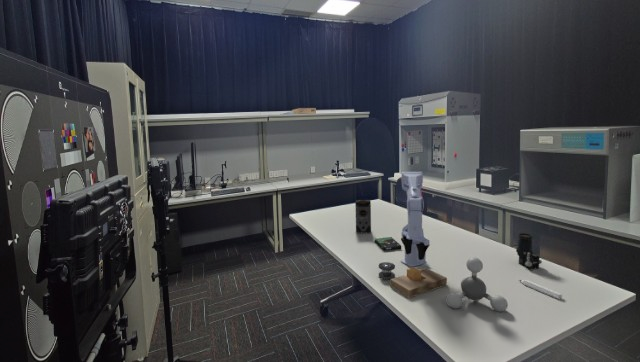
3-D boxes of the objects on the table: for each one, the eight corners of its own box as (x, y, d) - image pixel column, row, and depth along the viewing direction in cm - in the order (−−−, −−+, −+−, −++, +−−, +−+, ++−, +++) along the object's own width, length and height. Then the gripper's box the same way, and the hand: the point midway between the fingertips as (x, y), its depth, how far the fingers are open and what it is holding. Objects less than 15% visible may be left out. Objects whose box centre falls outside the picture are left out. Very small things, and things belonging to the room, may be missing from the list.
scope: (529, 240, 142) (510, 233, 151) (527, 270, 144) (509, 262, 153) (544, 238, 144) (525, 231, 153) (542, 267, 146) (523, 259, 155)
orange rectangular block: (413, 280, 139) (414, 266, 138) (420, 284, 135) (421, 270, 134) (406, 282, 137) (406, 269, 136) (413, 286, 134) (413, 272, 133)
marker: (518, 283, 135) (560, 301, 120) (515, 282, 134) (557, 299, 119) (520, 277, 135) (562, 294, 120) (517, 276, 134) (560, 292, 119)
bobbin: (388, 271, 148) (387, 261, 147) (398, 277, 142) (398, 266, 141) (375, 275, 145) (375, 264, 144) (385, 281, 139) (385, 270, 138)
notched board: (426, 274, 143) (426, 268, 143) (446, 284, 134) (446, 277, 133) (390, 286, 134) (390, 279, 134) (409, 297, 125) (409, 290, 124)
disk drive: (401, 250, 174) (391, 241, 189) (401, 245, 174) (391, 236, 188) (383, 252, 173) (374, 242, 187) (383, 247, 172) (374, 238, 187)
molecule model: (479, 308, 129) (450, 262, 134) (517, 297, 119) (485, 247, 124) (461, 332, 114) (430, 279, 119) (503, 322, 104) (467, 264, 109)
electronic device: (355, 233, 204) (355, 202, 201) (356, 230, 210) (355, 199, 207) (371, 233, 202) (370, 201, 199) (371, 230, 208) (370, 199, 205)
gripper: (396, 223, 143) (396, 253, 145) (420, 231, 130) (420, 264, 132) (408, 220, 146) (408, 249, 148) (433, 228, 133) (432, 260, 135)
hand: (414, 256), depth 140 cm, fingers open, 7 cm apart
